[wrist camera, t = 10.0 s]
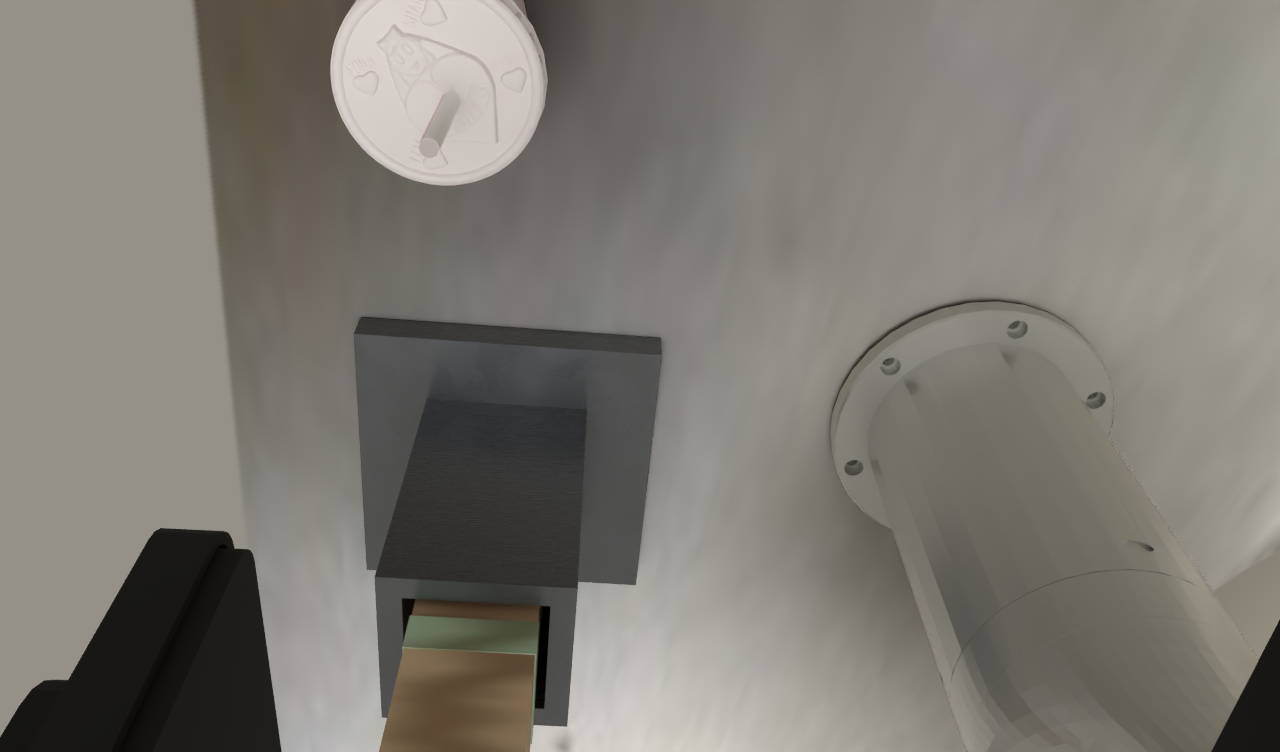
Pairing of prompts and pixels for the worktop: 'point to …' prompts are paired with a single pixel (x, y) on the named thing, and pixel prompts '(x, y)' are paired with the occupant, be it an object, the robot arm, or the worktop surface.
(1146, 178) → the worktop surface
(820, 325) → the worktop surface
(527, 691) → the column
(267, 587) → the worktop surface
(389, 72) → the smoothie
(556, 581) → the stand
